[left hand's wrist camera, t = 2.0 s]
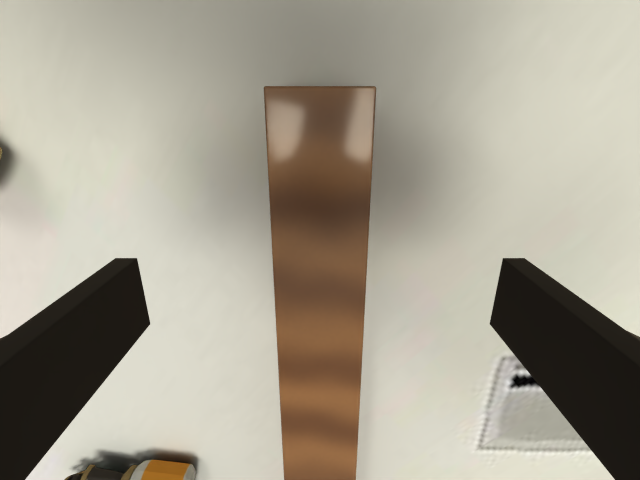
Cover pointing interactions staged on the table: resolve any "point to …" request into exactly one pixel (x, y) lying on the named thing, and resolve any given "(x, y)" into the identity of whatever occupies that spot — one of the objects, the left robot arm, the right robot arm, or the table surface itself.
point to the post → (319, 268)
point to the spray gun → (140, 472)
